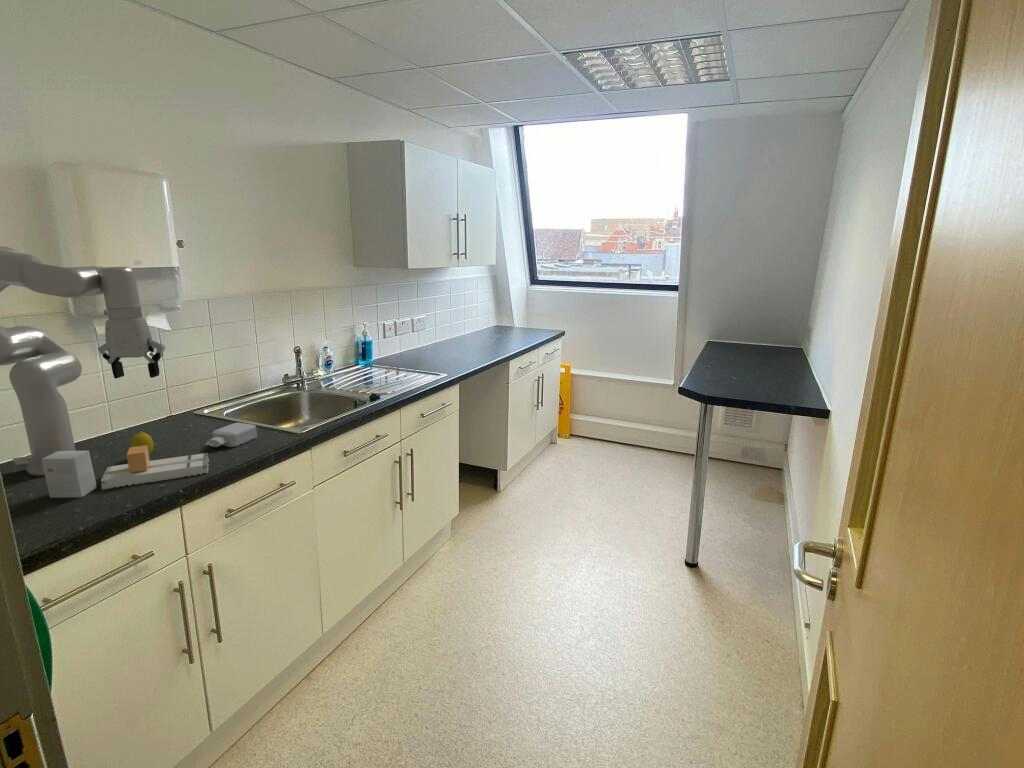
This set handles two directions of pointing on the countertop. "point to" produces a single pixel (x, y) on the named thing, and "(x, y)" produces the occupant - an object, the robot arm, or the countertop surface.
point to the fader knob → (138, 458)
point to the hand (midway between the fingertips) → (137, 376)
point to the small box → (69, 474)
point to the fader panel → (156, 471)
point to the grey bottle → (233, 435)
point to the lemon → (142, 441)
